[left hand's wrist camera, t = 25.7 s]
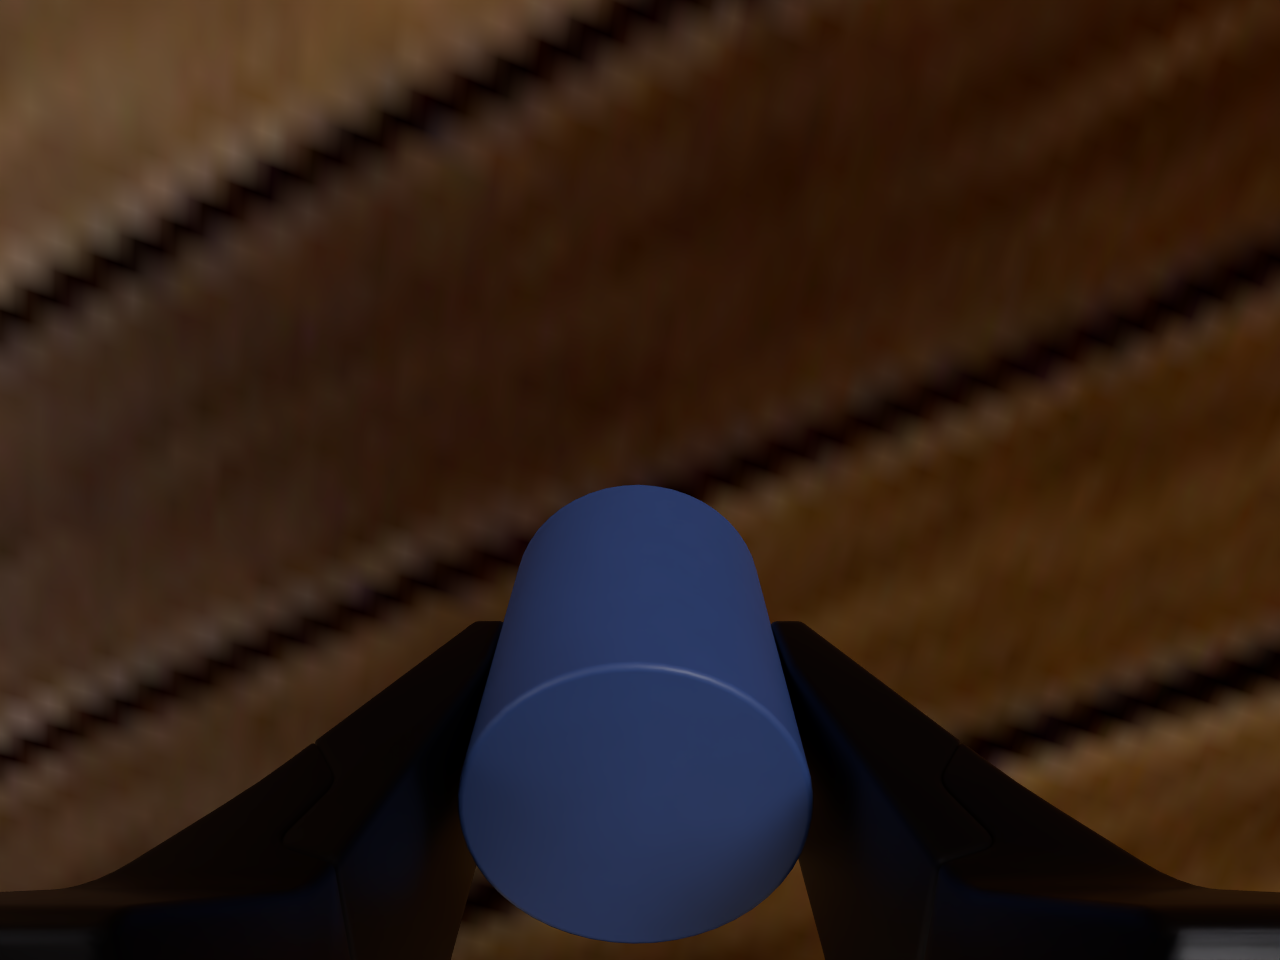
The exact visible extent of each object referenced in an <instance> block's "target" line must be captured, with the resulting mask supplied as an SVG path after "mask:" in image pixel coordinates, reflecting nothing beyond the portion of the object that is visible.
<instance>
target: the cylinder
mask: <svg viewBox="0 0 1280 960" xmlns="http://www.w3.org/2000/svg"><path fill="white" fill-rule="evenodd" d="M458 814H459V820H460V826H461V830H462V833H463V836H464V839H465V842H466V845H467V848H468V850H469V852H470V854H471V856H472V858H473V859H474V861H475V863H476V865H477V866H478V868H479V869H480V871H481V872H482V873H483V875H484V876H485V878H486V879H487V880H488V881H489V882H490V883H491V885H492V886H493V887H494V888H495V889H496V890H497V891H498V892H499V893H500V894H501V895H502V896H504V897H505V898H506V899H507V900H508V901H510V902H511V903H512V904H513V905H514V906H516V907H517V908H519V909H520V910H522V911H524V912H525V913H527V914H528V915H530V916H531V917H533V918H535V919H537V920H539V921H541V922H543V923H545V924H547V925H549V926H551V927H554V928H557V929H559V930H562V931H565V932H568V933H570V934H574V935H578V936H582V937H586V938H589V939H595V940H601V941H608V942H618V943H656V942H664V941H671V940H677V939H682V938H686V937H690V936H695V935H698V934H701V933H704V932H707V931H710V930H713V929H716V928H718V927H720V926H722V925H724V924H727V923H729V922H731V921H733V920H735V919H737V918H738V917H740V916H742V915H743V914H745V913H747V912H748V911H750V910H752V909H753V908H754V907H756V906H757V905H758V904H759V903H761V902H762V901H763V900H765V899H766V898H767V897H768V896H769V895H770V894H771V893H772V892H773V891H774V890H775V889H776V888H777V887H778V886H779V885H780V884H781V883H782V882H783V880H784V879H785V878H786V877H787V875H788V874H789V873H790V871H791V870H792V869H793V867H794V865H795V863H796V861H797V860H798V858H799V856H800V854H801V852H802V850H803V847H804V844H805V842H806V839H807V836H808V833H809V829H810V824H811V819H812V814H813V790H812V783H811V776H810V772H809V769H808V765H807V761H806V757H805V753H804V750H803V746H802V742H801V738H800V734H799V731H798V727H797V723H796V719H795V715H794V712H793V708H792V704H791V700H790V696H789V693H788V689H787V685H786V681H785V678H784V674H783V670H782V666H781V662H780V659H779V655H778V651H777V647H776V643H775V640H774V636H773V632H772V628H771V624H770V621H769V617H768V613H767V609H766V606H765V602H764V598H763V594H762V590H761V587H760V583H759V579H758V575H757V571H756V568H755V565H754V562H753V558H752V556H751V554H750V552H749V550H748V548H747V545H746V544H745V542H744V541H743V539H742V538H741V536H740V535H739V533H738V532H737V531H736V529H735V528H734V527H733V526H732V525H731V524H730V523H729V522H728V520H726V519H725V518H724V517H723V516H722V515H721V514H719V513H718V512H717V511H716V510H714V509H713V508H711V507H710V506H708V505H707V504H705V503H703V502H702V501H700V500H698V499H696V498H693V497H691V496H689V495H687V494H684V493H681V492H678V491H675V490H672V489H667V488H662V487H657V486H645V485H630V486H618V487H613V488H607V489H603V490H600V491H596V492H593V493H590V494H588V495H585V496H583V497H581V498H579V499H576V500H574V501H573V502H571V503H569V504H568V505H566V506H564V507H563V508H561V509H560V510H559V511H558V512H556V513H555V514H554V515H553V516H551V517H550V518H549V519H548V520H547V521H546V522H545V523H544V524H543V525H542V526H541V527H540V528H539V530H538V531H537V533H536V534H535V535H534V537H533V538H532V540H531V541H530V543H529V545H528V547H527V549H526V551H525V552H524V555H523V557H522V560H521V563H520V566H519V570H518V573H517V577H516V580H515V584H514V587H513V591H512V594H511V598H510V601H509V605H508V608H507V612H506V615H505V619H504V622H503V626H502V629H501V633H500V636H499V640H498V643H497V647H496V650H495V654H494V657H493V661H492V665H491V668H490V672H489V675H488V679H487V682H486V686H485V689H484V693H483V696H482V700H481V703H480V707H479V710H478V714H477V717H476V721H475V724H474V728H473V731H472V735H471V738H470V742H469V745H468V749H467V753H466V756H465V760H464V763H463V767H462V770H461V775H460V780H459V786H458Z"/></svg>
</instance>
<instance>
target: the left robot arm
mask: <svg viewBox="0 0 1280 960" xmlns="http://www.w3.org/2000/svg"><path fill="white" fill-rule="evenodd" d="M502 626H503V622H501V621H478V622H475V623H473V624H471V625H470V626H469V627H467V628H466V629H465V630H463V631H462V632H461V633H459V634H458V635H457V636H455V637H454V638H453V639H451V640H450V641H449V642H447V643H446V644H445V645H443V646H442V647H441V648H439V649H438V650H437V651H435V652H434V653H433V654H431V655H430V656H429V657H427V658H426V659H425V660H423V661H422V662H421V663H419V664H418V665H416V666H415V667H414V668H412V669H411V670H410V671H408V672H407V673H406V674H404V675H403V676H402V677H400V678H399V679H398V680H396V681H395V682H394V683H392V684H391V685H390V686H388V687H387V688H386V689H384V690H383V691H382V692H380V693H379V694H378V695H376V696H375V697H374V698H372V699H371V700H370V701H368V702H367V703H366V704H364V705H363V706H362V707H360V708H359V709H358V710H356V711H355V712H354V713H352V714H351V715H350V716H348V717H347V718H346V719H344V720H343V721H342V722H340V723H339V724H338V725H336V726H335V727H333V728H332V729H331V730H329V731H328V732H327V733H325V734H324V735H323V736H321V737H320V738H319V739H317V740H316V742H315V744H310V745H309V746H308V747H306V748H305V749H304V750H302V751H301V752H300V753H298V754H297V755H296V756H294V757H293V758H292V759H290V760H289V761H287V762H286V763H285V764H283V765H282V766H280V767H279V768H278V769H276V770H275V771H273V772H272V773H271V774H269V775H268V776H266V777H265V778H264V779H262V780H261V781H259V782H258V783H256V784H255V785H253V786H252V787H250V788H248V789H247V790H245V791H244V792H242V793H241V794H239V795H238V796H236V797H235V798H233V799H231V800H230V801H228V802H227V803H225V804H224V805H222V806H221V807H219V808H217V809H216V810H214V811H213V812H211V813H209V814H208V815H206V816H205V817H203V818H201V819H200V820H198V821H196V822H195V823H193V824H192V825H190V826H188V827H187V828H185V829H184V830H182V831H180V832H179V833H177V834H176V835H174V836H172V837H171V838H169V839H167V840H166V841H164V842H163V843H161V844H159V845H158V846H156V847H155V848H153V849H151V850H150V851H148V852H147V853H145V854H143V855H142V856H140V857H139V858H137V859H135V860H134V861H132V862H130V863H129V864H127V865H125V866H123V867H122V868H120V869H118V870H116V871H115V872H113V873H110V874H108V875H106V876H104V877H101V878H99V879H97V880H94V881H91V882H88V883H85V884H82V885H79V886H74V887H69V888H65V889H55V890H36V891H15V892H0V960H451V956H452V953H453V949H454V945H455V942H456V938H457V934H458V931H459V927H460V923H461V919H462V916H463V912H464V908H465V905H466V901H467V897H468V894H469V890H470V886H471V883H472V879H473V875H474V871H475V868H476V863H475V861H474V859H473V858H472V856H471V854H470V852H469V850H468V848H467V845H466V842H465V839H464V836H463V833H462V830H461V826H460V820H459V814H458V786H459V780H460V775H461V770H462V767H463V763H464V760H465V756H466V753H467V749H468V745H469V742H470V738H471V735H472V731H473V728H474V724H475V721H476V717H477V714H478V710H479V707H480V703H481V700H482V696H483V693H484V689H485V686H486V682H487V679H488V675H489V672H490V668H491V665H492V661H493V657H494V654H495V650H496V647H497V643H498V640H499V636H500V633H501V629H502ZM771 628H772V632H773V636H774V640H775V643H776V647H777V651H778V655H779V659H780V662H781V666H782V670H783V674H784V678H785V681H786V685H787V689H788V693H789V696H790V700H791V704H792V708H793V712H794V715H795V719H796V723H797V727H798V731H799V734H800V738H801V742H802V746H803V750H804V753H805V757H806V761H807V765H808V769H809V772H810V776H811V783H812V790H813V814H812V819H811V824H810V829H809V833H808V836H807V839H806V842H805V844H804V847H803V850H802V852H801V854H800V856H799V858H798V859H799V863H800V867H801V870H802V874H803V878H804V882H805V885H806V889H807V893H808V897H809V900H810V904H811V908H812V912H813V915H814V919H815V923H816V926H817V930H818V934H819V938H820V941H821V945H822V949H823V953H824V956H825V960H1280V893H1279V892H1259V891H1238V890H1219V889H1209V888H1205V887H1200V886H1195V885H1192V884H1189V883H1186V882H1183V881H1180V880H1177V879H1175V878H1173V877H1170V876H1168V875H1166V874H1164V873H1162V872H1159V871H1158V870H1156V869H1154V868H1152V867H1151V866H1149V865H1147V864H1146V863H1144V862H1142V861H1141V860H1139V859H1137V858H1136V857H1134V856H1133V855H1131V854H1129V853H1128V852H1126V851H1125V850H1123V849H1121V848H1120V847H1118V846H1117V845H1115V844H1113V843H1112V842H1110V841H1109V840H1107V839H1105V838H1104V837H1102V836H1101V835H1099V834H1097V833H1096V832H1094V831H1093V830H1091V829H1089V828H1088V827H1086V826H1085V825H1083V824H1081V823H1080V822H1078V821H1077V820H1075V819H1073V818H1072V817H1070V816H1069V815H1067V814H1065V813H1064V812H1062V811H1061V810H1059V809H1057V808H1056V807H1054V806H1053V805H1051V804H1050V803H1048V802H1046V801H1045V800H1043V799H1042V798H1040V797H1039V796H1037V795H1036V794H1034V793H1033V792H1031V791H1030V790H1028V789H1027V788H1025V787H1023V786H1022V785H1020V784H1019V783H1017V782H1016V781H1014V780H1013V779H1012V778H1010V777H1009V776H1007V775H1006V774H1005V773H1003V772H1002V771H1000V770H999V769H998V768H996V767H995V766H993V765H992V764H991V763H989V762H988V761H986V760H985V759H984V758H982V757H981V756H980V755H978V754H977V753H976V752H974V751H973V750H972V749H970V748H969V747H968V746H966V745H965V744H960V741H959V740H958V739H957V738H955V737H954V736H953V735H951V734H950V733H949V732H947V731H946V730H945V729H943V728H942V727H941V726H940V725H938V724H937V723H936V722H934V721H933V720H932V719H930V718H929V717H928V716H926V715H925V714H924V713H922V712H921V711H920V710H918V709H917V708H916V707H914V706H913V705H912V704H910V703H909V702H908V701H906V700H905V699H904V698H902V697H901V696H900V695H898V694H897V693H896V692H894V691H893V690H892V689H890V688H889V687H888V686H886V685H885V684H884V683H882V682H881V681H880V680H878V679H877V678H876V677H874V676H873V675H872V674H870V673H869V672H868V671H866V670H865V669H864V668H862V667H861V666H860V665H858V664H857V663H856V662H855V661H853V660H852V659H851V658H849V657H848V656H847V655H845V654H844V653H843V652H841V651H840V650H839V649H837V648H836V647H835V646H833V645H832V644H831V643H829V642H828V641H827V640H825V639H824V638H823V637H821V636H820V635H819V634H817V633H816V632H815V631H813V630H812V629H811V628H809V627H808V626H807V625H805V624H804V623H802V622H799V621H776V622H773V623H772V624H771Z"/></svg>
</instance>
